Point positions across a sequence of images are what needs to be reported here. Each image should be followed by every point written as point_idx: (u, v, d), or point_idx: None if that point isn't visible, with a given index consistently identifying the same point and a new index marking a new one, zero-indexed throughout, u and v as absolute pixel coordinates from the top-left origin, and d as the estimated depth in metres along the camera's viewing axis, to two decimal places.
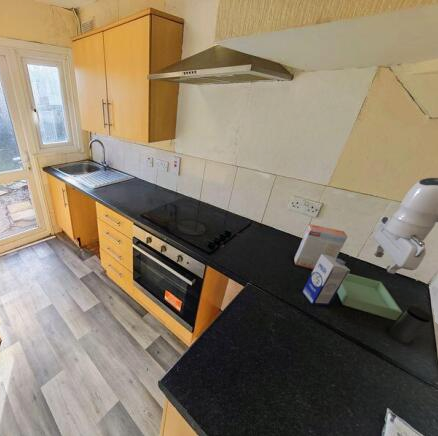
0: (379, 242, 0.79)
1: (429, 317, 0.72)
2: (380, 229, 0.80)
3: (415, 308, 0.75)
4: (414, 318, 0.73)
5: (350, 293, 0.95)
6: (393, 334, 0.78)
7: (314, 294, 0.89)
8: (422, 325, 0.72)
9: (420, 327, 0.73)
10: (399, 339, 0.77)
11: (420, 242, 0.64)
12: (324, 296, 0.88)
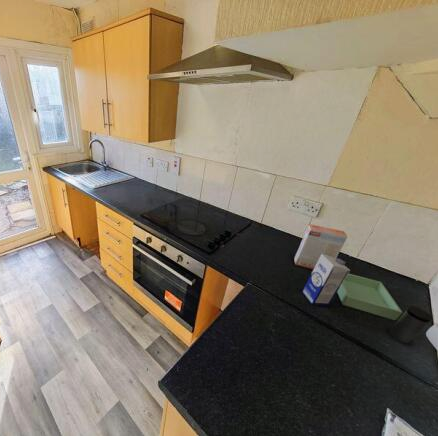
0: None
1: (429, 317, 0.72)
2: None
3: (415, 308, 0.75)
4: (414, 318, 0.73)
5: (350, 293, 0.95)
6: (393, 334, 0.78)
7: (314, 294, 0.89)
8: (422, 325, 0.72)
9: (420, 327, 0.73)
10: (399, 339, 0.77)
11: None
12: (324, 296, 0.88)
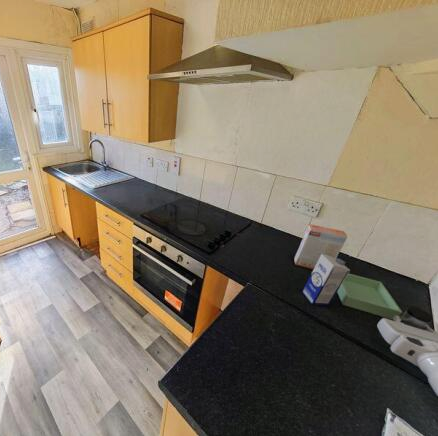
0: None
1: (429, 317, 0.72)
2: None
3: (415, 308, 0.75)
4: (415, 318, 0.73)
5: (350, 293, 0.95)
6: None
7: (314, 294, 0.89)
8: (422, 325, 0.72)
9: (420, 327, 0.73)
10: None
11: None
12: (324, 296, 0.88)
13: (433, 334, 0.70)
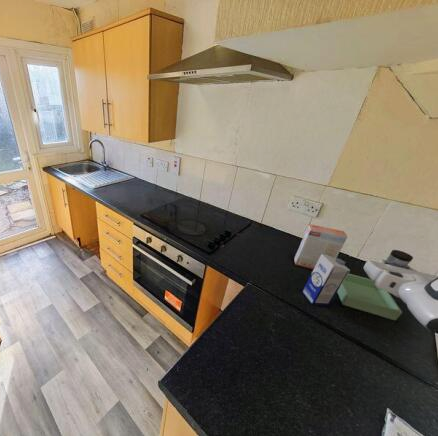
0: None
1: (410, 257, 0.79)
2: None
3: (398, 251, 0.82)
4: (397, 258, 0.79)
5: (350, 293, 0.95)
6: None
7: (314, 294, 0.89)
8: (404, 265, 0.79)
9: (402, 267, 0.80)
10: None
11: None
12: (324, 296, 0.88)
13: (413, 271, 0.77)
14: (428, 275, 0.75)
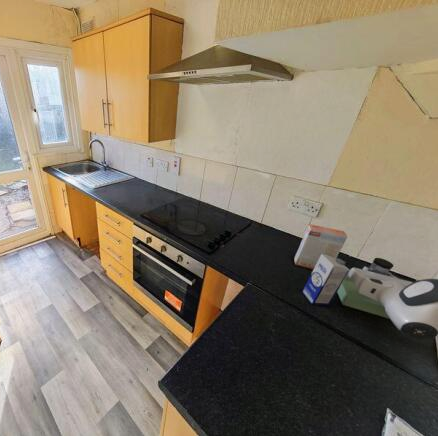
0: None
1: (391, 265, 0.85)
2: None
3: (380, 259, 0.88)
4: (379, 266, 0.86)
5: (350, 293, 0.95)
6: None
7: (314, 294, 0.89)
8: (385, 272, 0.85)
9: (384, 274, 0.86)
10: None
11: None
12: (324, 296, 0.88)
13: (393, 278, 0.83)
14: (406, 282, 0.81)
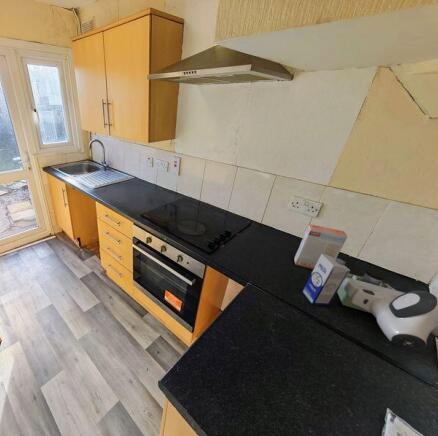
0: None
1: (383, 276, 0.87)
2: None
3: (373, 270, 0.90)
4: (371, 277, 0.88)
5: None
6: None
7: (314, 294, 0.89)
8: (377, 283, 0.88)
9: None
10: None
11: None
12: (324, 296, 0.88)
13: (386, 288, 0.85)
14: (398, 292, 0.84)
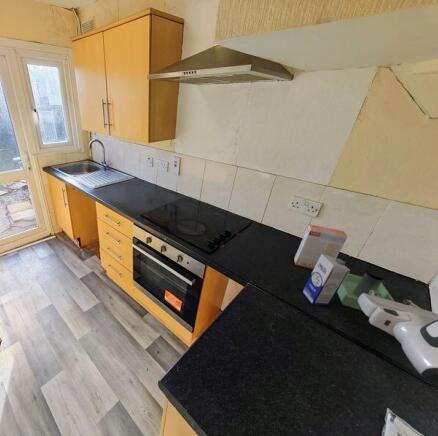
0: None
1: (383, 276, 0.87)
2: None
3: (373, 270, 0.90)
4: (371, 277, 0.88)
5: (350, 293, 0.95)
6: (356, 293, 0.94)
7: (314, 294, 0.89)
8: (377, 283, 0.88)
9: (376, 285, 0.88)
10: None
11: None
12: (324, 296, 0.88)
13: (410, 307, 0.73)
14: (425, 311, 0.72)
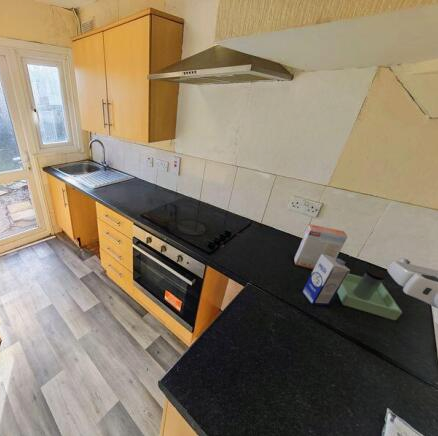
0: None
1: (383, 276, 0.87)
2: None
3: (373, 270, 0.90)
4: (371, 277, 0.88)
5: (350, 293, 0.95)
6: (356, 293, 0.94)
7: (314, 294, 0.89)
8: (377, 283, 0.88)
9: (376, 285, 0.88)
10: (360, 297, 0.92)
11: None
12: (324, 296, 0.88)
13: None
14: None
